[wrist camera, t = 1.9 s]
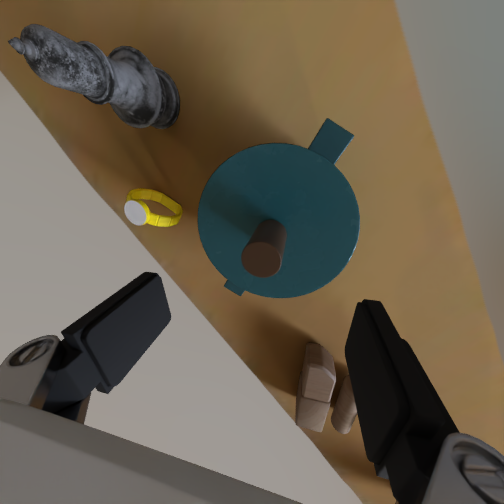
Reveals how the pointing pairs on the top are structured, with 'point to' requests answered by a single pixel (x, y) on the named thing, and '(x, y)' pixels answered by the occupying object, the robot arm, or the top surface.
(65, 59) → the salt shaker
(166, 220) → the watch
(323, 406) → the wooden block set
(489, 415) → the top surface
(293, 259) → the pan lid
